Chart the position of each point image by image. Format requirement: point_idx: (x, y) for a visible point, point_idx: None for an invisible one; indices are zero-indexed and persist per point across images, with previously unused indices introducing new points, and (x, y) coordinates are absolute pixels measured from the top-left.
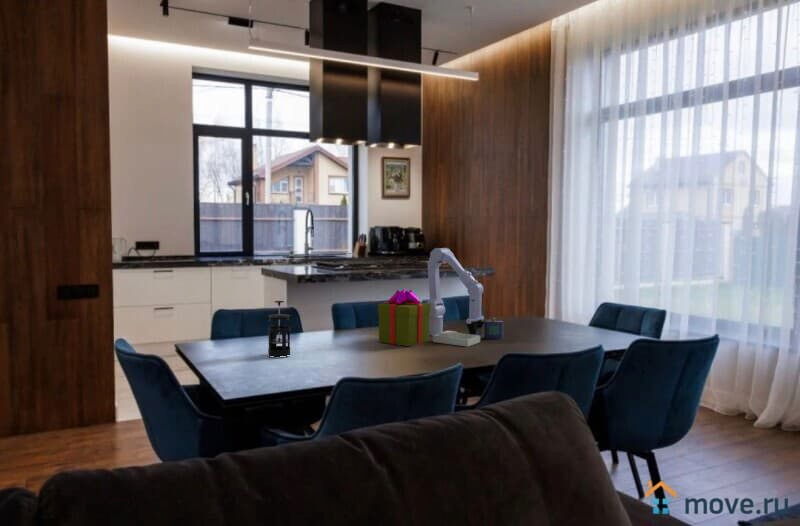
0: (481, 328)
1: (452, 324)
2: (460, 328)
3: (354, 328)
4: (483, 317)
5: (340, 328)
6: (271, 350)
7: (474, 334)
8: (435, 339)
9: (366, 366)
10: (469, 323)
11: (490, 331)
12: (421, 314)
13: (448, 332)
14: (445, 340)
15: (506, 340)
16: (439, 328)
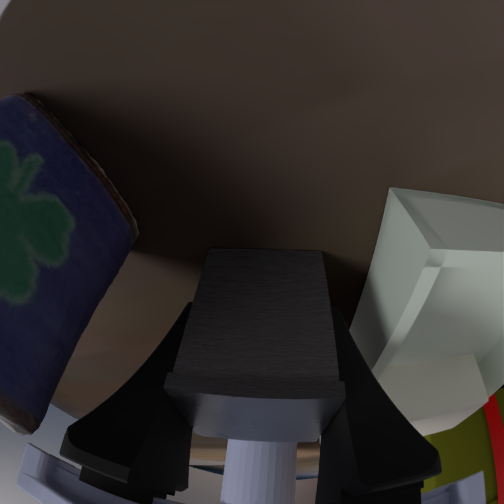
0: (168, 375)
1: (57, 402)
2: (64, 390)
3: (296, 476)
4: (24, 473)
5: (310, 478)
6: None
7: (352, 337)
8: None
9: None
10: (479, 474)
11: (46, 243)
12: (500, 497)
13: (434, 424)
14: (499, 364)
15: (27, 41)
16: (278, 461)
